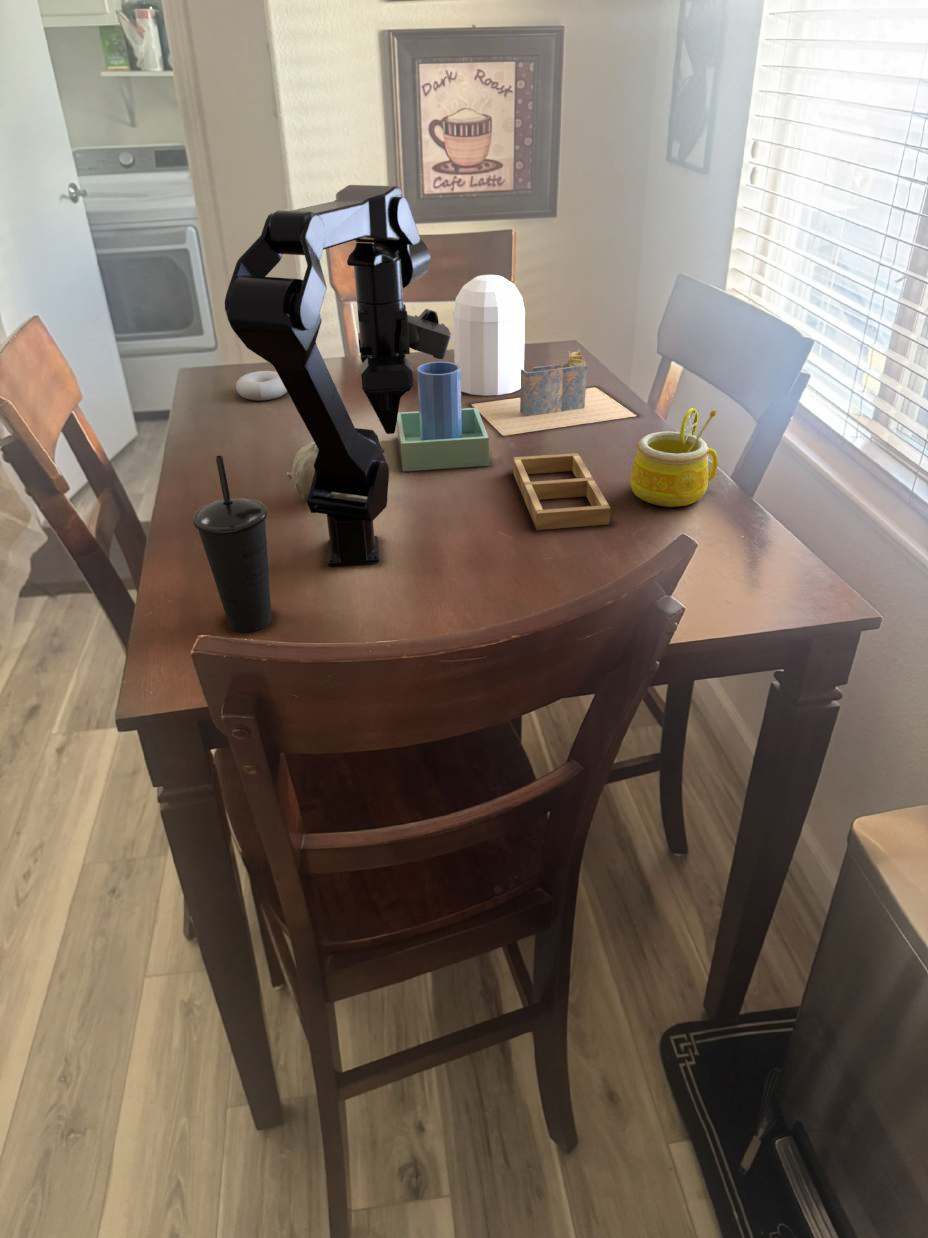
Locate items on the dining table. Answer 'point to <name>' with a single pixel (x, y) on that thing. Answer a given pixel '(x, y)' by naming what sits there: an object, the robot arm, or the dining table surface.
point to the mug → (673, 466)
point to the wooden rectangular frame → (560, 491)
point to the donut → (260, 386)
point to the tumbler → (439, 400)
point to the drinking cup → (237, 556)
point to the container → (489, 336)
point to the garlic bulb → (305, 470)
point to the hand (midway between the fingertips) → (388, 420)
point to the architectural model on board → (552, 401)
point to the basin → (442, 444)
